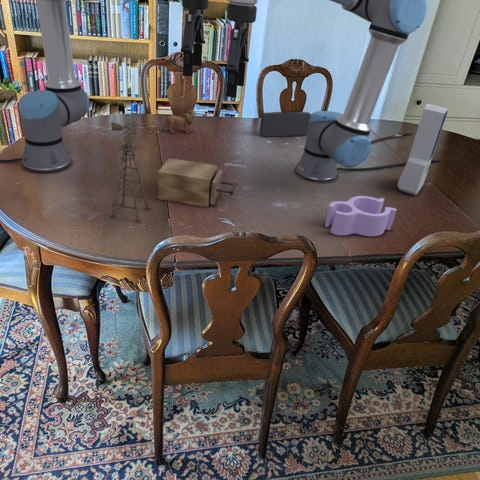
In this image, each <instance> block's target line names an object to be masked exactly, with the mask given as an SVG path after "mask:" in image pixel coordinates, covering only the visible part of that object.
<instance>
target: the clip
mask: <svg viewBox="0 0 480 480" xmlns="http://www.w3.org/2000/svg"><path fill="white" fill-rule="evenodd" d="M384 201H385V198H383V197H379V198H376V197H373V196H368V195H357V196H352V197H350V198H349V200H347V201H339V200H338V201H337V200H335V201H332V202H330V203H329V205H328V208H327V214H326V218H325V222H324V227H326V228H329V227H330V226H331V227H330V233H331V234H333V235H336V236H348V235H353V234H356V235H360V236H364V237H365V236H366V237H378V236H381V235H382V234H384V232H385V230H387V231H391V229H392V226H393V222H394V219H395V216H396V213H397V210H398V209H397V208H395V207H391V206H385V207H384V211H383V212H382V209H383V206H384Z"/></svg>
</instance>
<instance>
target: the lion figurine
mask: <svg viewBox="0 0 480 480" xmlns="http://www.w3.org/2000/svg"><path fill="white" fill-rule="evenodd" d="M196 118H197V114H196V111H195V110H193V109H189V110H187V112H186V113H184V114H182V115H180V116H176V115H172V114H171V115H168V116H167V117H166V118H165V120H164V124H163V128H161V132H162V131H168V130H169V131H170V132H171V134H175V131H174V130H173V126H174V125H176V126H182V130H183V131H184V132H185V133H186V134H189V132H190V131H189V126H192V125H193V123H194V122H196ZM168 126H169V129H168V128H167V127H168Z"/></svg>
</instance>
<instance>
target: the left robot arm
mask: <svg viewBox="0 0 480 480" xmlns="http://www.w3.org/2000/svg"><path fill="white" fill-rule="evenodd" d="M209 2H210V1H209V0H181V6H182V7H183V8H184V9H188V12H187V13H185V15H184V17H185V18H184V30H183V36H182V44H181V48H180V53H183V59H182V76H184V77H192V78H193V72H194V67H202V66H203V65H202V64H203V45H206V40H205V29H204V28H205V27H204V25H205V24H204V13H205V12H204V11H205V10H208V9H209ZM35 3H36V11H37V17H38V22H39V28H40V35H41V40H42V47H43V52H44V54H43V55H44V59H45V66H46V73H47V78H48V79H46V81H45V82H44V89H39V90H35V91H34V90H33V91H28V92H26V93H25V94H23V95H22V96H21V97H20V98H19V102H18V105H19V110H18V111H19V115H20V120H21V126H22V132H23V137H24V148H23V153H22V157H20V158H11V159H0V163H11V162H12V163H13V162H21V161H22V166H23V168H24V169H25V170H27V171H29V172H33V173H39V174H46V173H56V172H61V171H63V170H66V169H67V168H69V167H70V166H71V163H72V159H71V154H70V153H69V151H68V150H67V149H68V148H67V147H66V145H65V143H64V140H63V132H62V129H63V128H65V127H67V126H69V125H71V124H73V123H75V122H78V121H80V120H81V119H82V118H84V117H85V116H86V115H87V114H88V112H89V109H90V98H89V94H88V92H86V91H85V89H84V88H83V87H82V83H81V82H80V80H78V79H77V77H76V74H75V67H74V64H75V63H74V58H73V50H72V43H71V34H70V26H69V18H68V13H67V12H68V11H67V4H66V3H67V2H66V0H35Z"/></svg>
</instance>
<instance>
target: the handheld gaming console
mask: <svg viewBox="0 0 480 480" xmlns="http://www.w3.org/2000/svg"><path fill="white" fill-rule="evenodd" d="M311 114H312V113H310V112H307V111H272V112H271V111H270V112H263V113H262V114H261V116H260V123H259V124H260V125H259V131H258V132H259V134H260V136H262V137H293V136H294V137H295V136H296V137H298V136H307V132H308V126H309V120H310V116H311Z"/></svg>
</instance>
